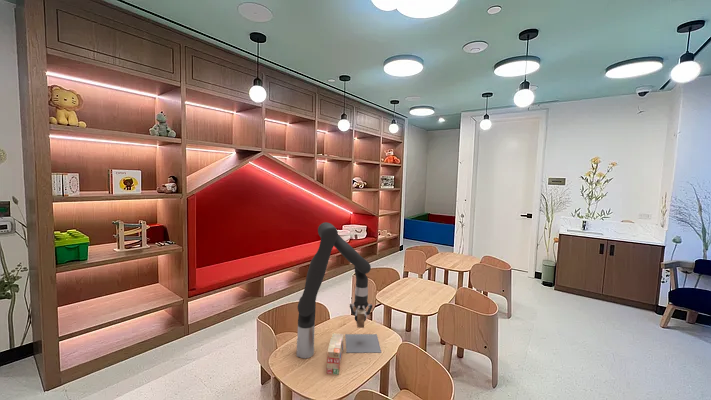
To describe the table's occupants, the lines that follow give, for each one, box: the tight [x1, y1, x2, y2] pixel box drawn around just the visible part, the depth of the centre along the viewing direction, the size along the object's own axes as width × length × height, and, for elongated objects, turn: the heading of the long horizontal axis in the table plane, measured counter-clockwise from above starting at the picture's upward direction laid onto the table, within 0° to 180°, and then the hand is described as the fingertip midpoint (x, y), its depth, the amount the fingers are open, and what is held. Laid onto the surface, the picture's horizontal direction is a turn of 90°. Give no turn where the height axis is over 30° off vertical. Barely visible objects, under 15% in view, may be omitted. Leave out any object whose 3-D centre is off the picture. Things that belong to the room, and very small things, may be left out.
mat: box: [344, 333, 382, 354], centre depth 173 cm, size 20×18×1 cm
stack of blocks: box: [326, 333, 344, 375], centre depth 156 cm, size 21×6×12 cm, turn 176°
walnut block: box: [355, 309, 366, 329], centre depth 171 cm, size 4×7×10 cm, turn 4°
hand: (360, 320), depth 172 cm, fingers closed on walnut block, 4 cm apart
